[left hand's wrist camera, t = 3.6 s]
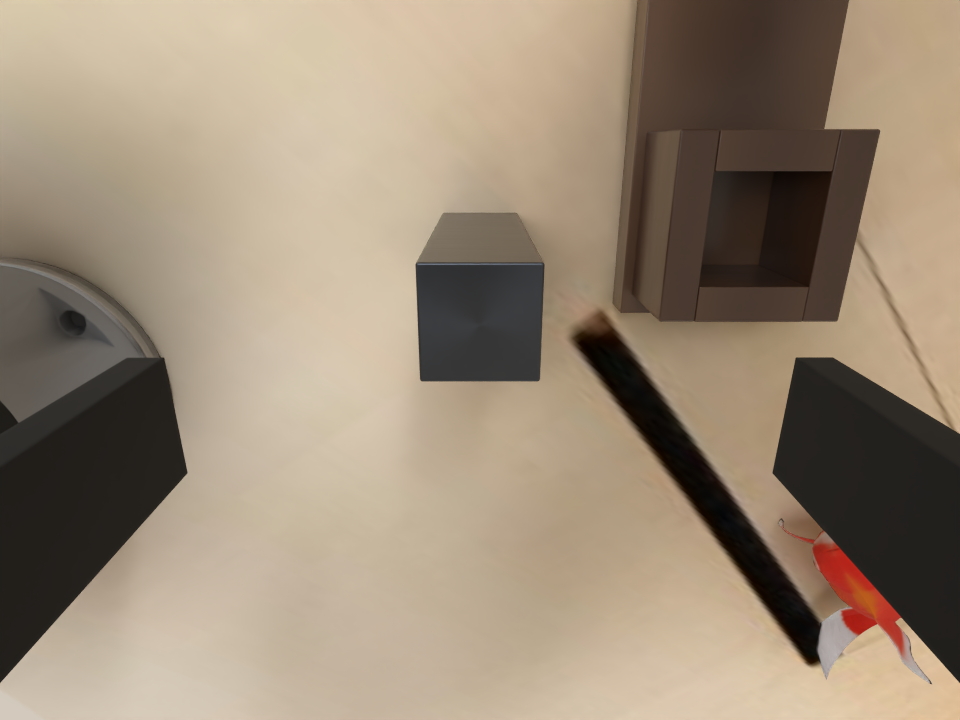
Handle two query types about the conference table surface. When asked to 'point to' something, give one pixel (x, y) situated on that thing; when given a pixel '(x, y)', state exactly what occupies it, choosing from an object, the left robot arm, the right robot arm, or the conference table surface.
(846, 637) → the fish
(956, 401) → the conference table surface
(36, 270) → the left robot arm
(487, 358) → the peg
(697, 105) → the holder
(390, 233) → the conference table surface
